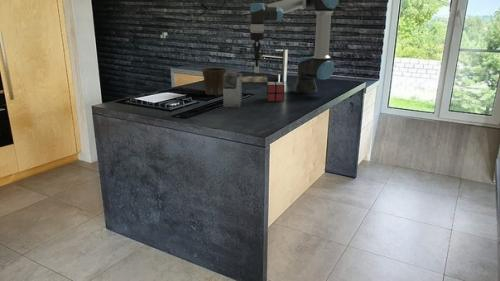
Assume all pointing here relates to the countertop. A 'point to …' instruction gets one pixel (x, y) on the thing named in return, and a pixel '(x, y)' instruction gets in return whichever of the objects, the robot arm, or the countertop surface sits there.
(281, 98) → the puzzle cube
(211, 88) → the plant pot
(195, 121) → the countertop surface
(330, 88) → the countertop surface
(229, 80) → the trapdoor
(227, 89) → the bracket
